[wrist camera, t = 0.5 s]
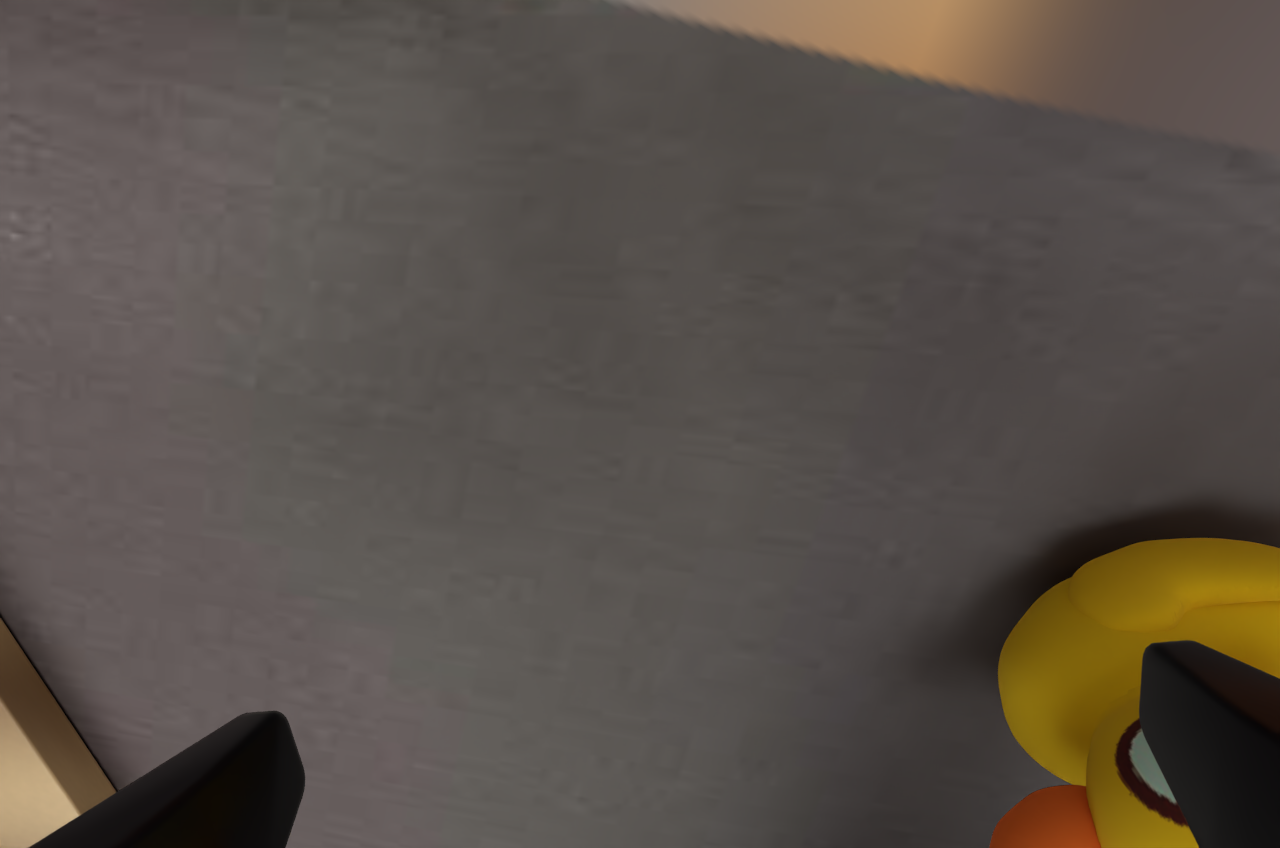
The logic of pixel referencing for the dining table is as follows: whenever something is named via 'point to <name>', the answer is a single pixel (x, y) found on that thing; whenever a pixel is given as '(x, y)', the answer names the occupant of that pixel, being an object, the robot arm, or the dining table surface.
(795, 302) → the dining table surface
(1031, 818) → the duckling
